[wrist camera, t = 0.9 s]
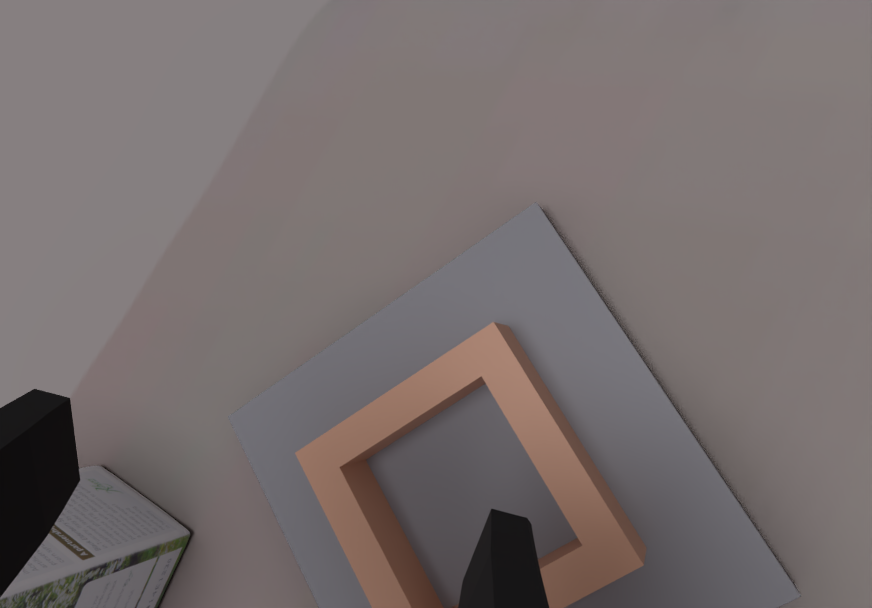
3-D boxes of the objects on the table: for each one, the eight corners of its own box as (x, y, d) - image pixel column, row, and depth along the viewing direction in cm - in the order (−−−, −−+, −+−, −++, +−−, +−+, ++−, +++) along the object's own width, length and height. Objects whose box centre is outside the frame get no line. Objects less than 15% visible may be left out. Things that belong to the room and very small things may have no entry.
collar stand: (795, 585, 20) (814, 620, 17) (416, 772, 23) (381, 827, 20) (541, 208, 24) (523, 186, 21) (243, 414, 27) (192, 420, 24)
